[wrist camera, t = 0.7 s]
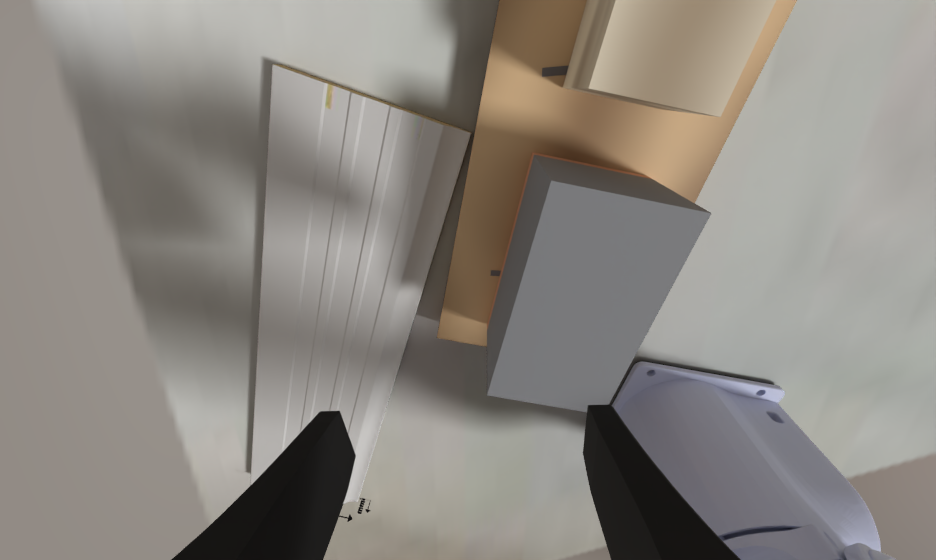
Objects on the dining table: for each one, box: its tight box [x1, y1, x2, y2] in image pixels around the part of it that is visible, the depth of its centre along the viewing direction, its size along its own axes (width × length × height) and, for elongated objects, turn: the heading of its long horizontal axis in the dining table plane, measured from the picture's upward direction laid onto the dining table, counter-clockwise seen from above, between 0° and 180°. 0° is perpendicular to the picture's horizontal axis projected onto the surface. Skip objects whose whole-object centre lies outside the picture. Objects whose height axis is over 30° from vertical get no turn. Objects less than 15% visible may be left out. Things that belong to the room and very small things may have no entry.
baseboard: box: [250, 64, 472, 522], centre depth 22 cm, size 30×3×10 cm
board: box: [437, 0, 797, 347], centre depth 16 cm, size 10×22×2 cm, turn 169°
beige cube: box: [563, 0, 776, 117], centre depth 11 cm, size 4×4×4 cm
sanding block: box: [487, 152, 711, 412], centre depth 15 cm, size 5×9×5 cm, turn 169°
